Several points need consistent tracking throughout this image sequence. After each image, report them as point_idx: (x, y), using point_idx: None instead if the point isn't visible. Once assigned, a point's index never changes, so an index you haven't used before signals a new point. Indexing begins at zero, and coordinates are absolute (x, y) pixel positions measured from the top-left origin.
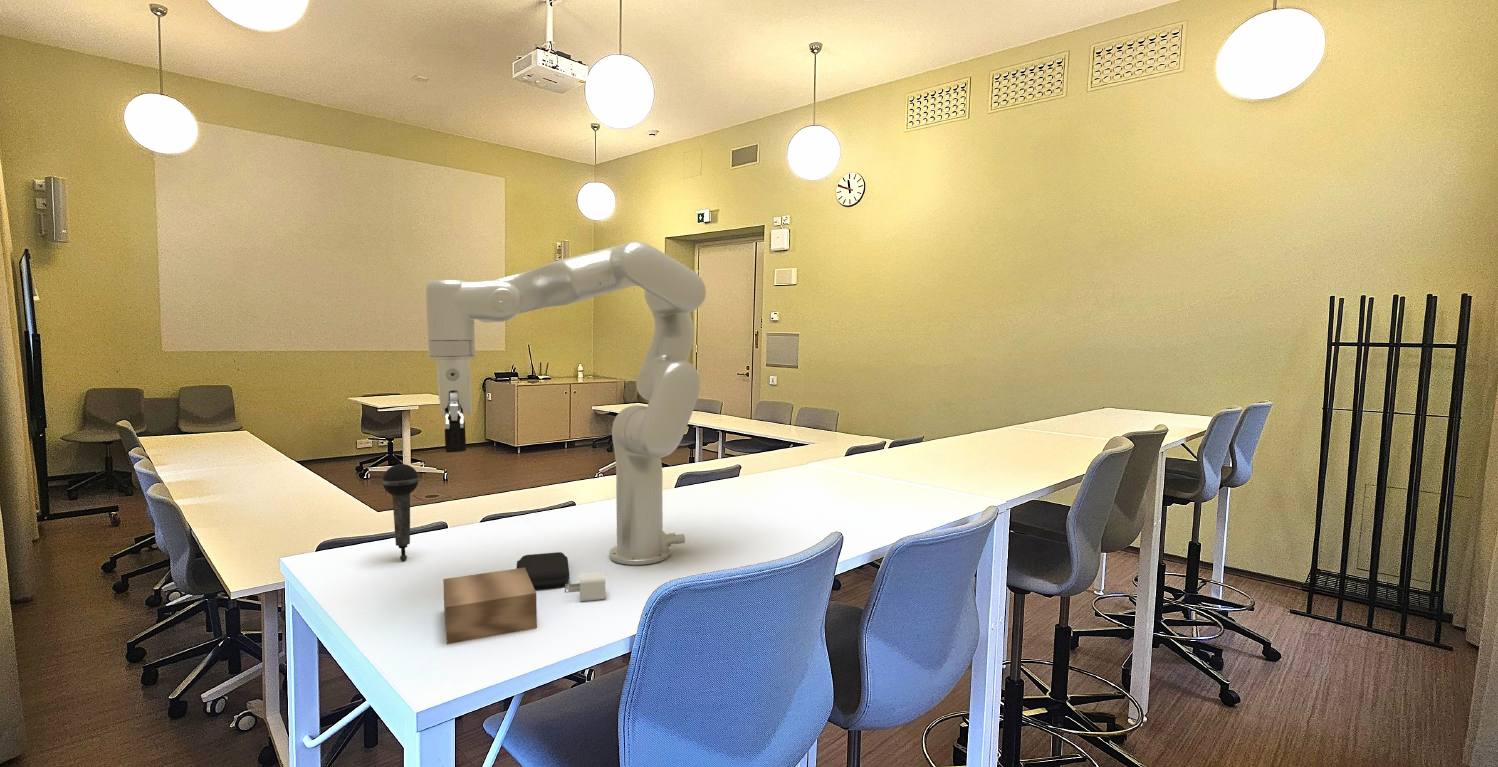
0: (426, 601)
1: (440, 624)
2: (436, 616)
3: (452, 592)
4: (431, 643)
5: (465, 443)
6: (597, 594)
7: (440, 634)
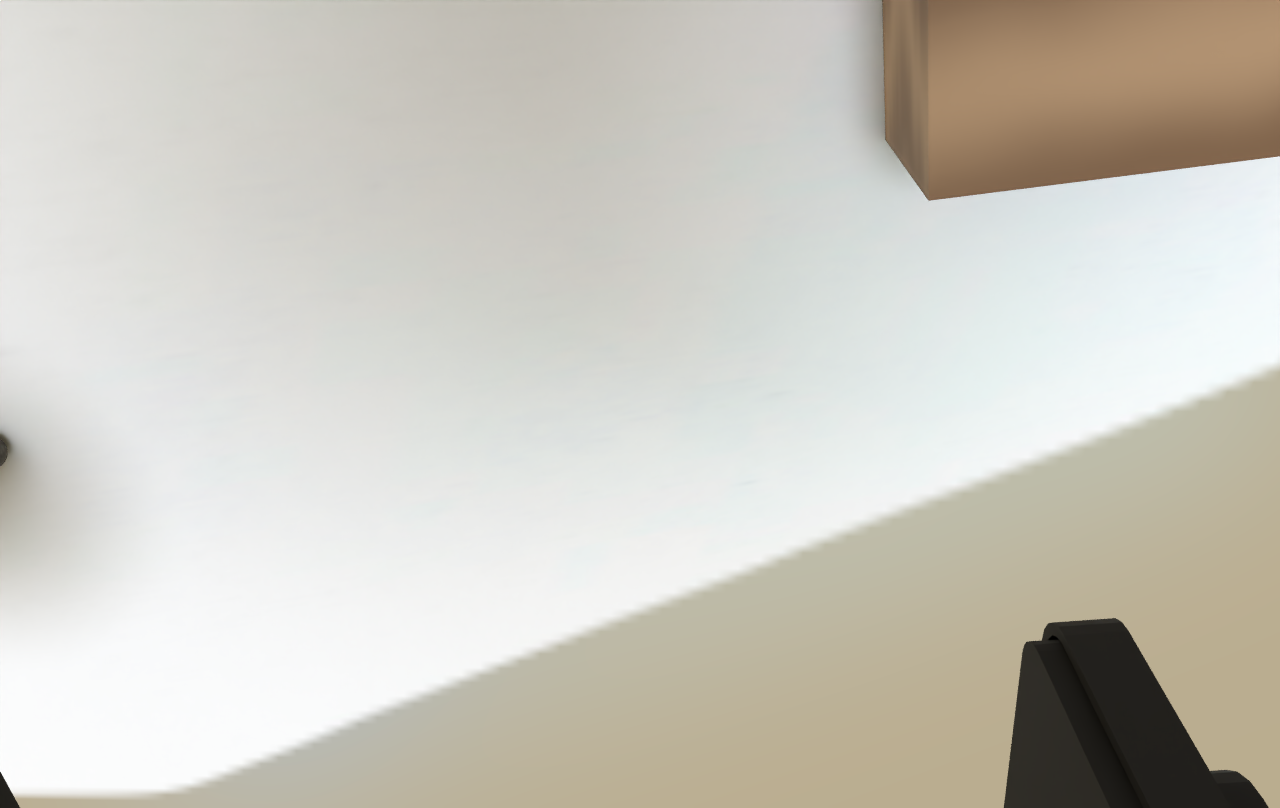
0: (693, 245)
1: None
2: None
3: (1211, 122)
4: None
5: (1177, 726)
6: None
7: None
